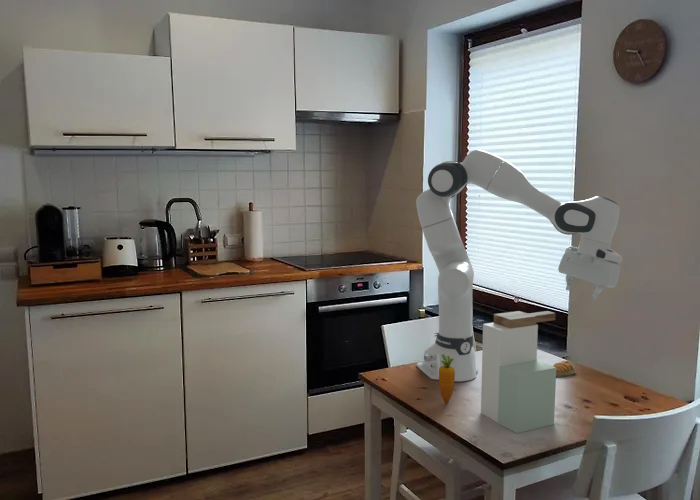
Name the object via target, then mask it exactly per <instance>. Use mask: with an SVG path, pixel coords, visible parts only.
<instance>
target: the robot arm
mask: <svg viewBox="0 0 700 500" xmlns="http://www.w3.org/2000/svg"><path fill="white" fill-rule="evenodd" d="M427 184H428V189H427V190H425V191H422V192H421V193H420V194H419V195H418V196H417V198H416V202H415V204H416V211H417V212H416V213H417V216H418V221H419V224H420V227H421V230H422V232H423V235H424V238H425V241H426V244H427V247H428V251H429V252H430V253H431V256H432V258H433V261H434V262H435V265H436V267H437V270H438V277H437V289H438V290H437V291H438V293H437V294H438V298H437V299H438V332H435V333H434V337H436V339H435V342H434V343H433V344H431V346H428V348H425V350H424V353H423V360H421V361H418V362H417V363H416V367H417V368H418V369H419V370H420V371H422V373H424V374H425V375H426V376H427V377H428V378H429V379H431V380H437V381H439V368H440V367H441V366H445V365H444V364H443V363H442V362H441V360H442V361H443V360H444V359H443V357H442V354H445V356H446V359H447V362H448V358H447V356H450V359H451V358H453V361H452V362H451V364H450V366H451V367H453V368H454V370H455V380H454V382H467V381H471V380H473V379H476V377H477V373H478V372H479V368H478V367H476V366H477V363H476V350H475V348H474V347H473V346H474V340H475V339H474V334H473V310H474V309H473V294H474V293H473V288H474V287H473V286H474V285H473V283H474V276H475V272H474V269H473V266H472V264H471V261H470V258H469V255H468V252H467V250H466V248H465V245H464V243H463V241H462V238H461V235H460V232H459V229H458V226H457V224H456V220H455V218H454V215H453V212H452V209H451V208H452V207H451V203H450V201H451V199H453V197H455V196H456V195H458V194H459V193H461V192H462V191H463V190H464V189H465V188H466V187H467V185H470V184H472V185H475V186H477V187H479V188H481V189H483V190H484V191H487V192H488V193H490V194H491V195H493V196H495V197H498V198H501V199H504V200H507V201H509V202H513V203H514V202H515V203H519V204H521V205H524V206H526V207H528V208H529V209H532V211H535V212H537V214H540V215H542V217H545V218H546V219H548V220H549V221H550V223H551V224H552V225H553V227H554V228H555V230H557V232H559V233H561V234H563V235H568V236H571V235H576V234H580V240H579V243H578V246H575V245H569V246H568V247H567V248H566V249H565V250H564V253H563V255H562V256H561V260H560V262H559V264H558V273H560V274H563V275H565V284H566V287H565V290H566V291H569V292H573V291H574V288H575V285H573V281H574V280H575V278H577V279H580V280H583V281H585V282H589V283H593V284H595V285H594V288H595V289H594V290H593V291H590V292H589V295H588V297H589V298H590V299H593V300H597V299H598V296H599V294H600V293H602V292H603V290H604V289H605V287H606V288H610V289H614V288H615V287H616V286H617V284H618V281H619V279H620V278H619V277H620V274H621V265H620V264H622V262H623V260H624V258H623V256H622V255H621V254H619V253H617V252H616V251H615V250H614V249H612V248H611V247H612V242H613V241H612V239H613V237H614V234H615V232H616V230H617V227H618V223H619V217H620V212H621V211H620V206H619V204H618V203H617V202H616V201H614V200H612V199H610V198H608V197H604V196H601V195H596V196H594V197H591V198H588V199H585V200H583V199H582V200H577V201H576V200H575V201H568V202H563V201H559V200H557V199H555V198H553V197H552V196H550V195H548V194H546V193H545V192H543V191H541V189H540V190H539V189H538V188H537V187H536V186H534V185H533V184H532V182H530V181H529V179H528V178H527V177H526V175H525V173H524V172H522V170H520V169H519V168H518V167H516V165H514V164H512V163H511V162H510V161H508V160H506V159H505V158H502V157H500V156H497V155H496V154H493V153H491V152H488V151H485V150H482V149H473V150H471V151H470V152H469V153H468V154H467V155H466V156H465V157H464V159H463V160H462V162H460V161H456V160H455V161H454V160H449V161H443V162H441V163H439V164H436V165H434V167H433V168H432V169H431V170H430V171H429V174H428V175H427ZM444 363H445V362H444Z"/></svg>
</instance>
